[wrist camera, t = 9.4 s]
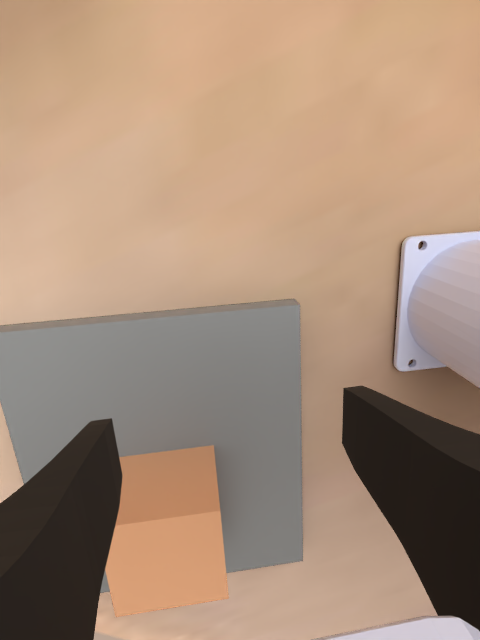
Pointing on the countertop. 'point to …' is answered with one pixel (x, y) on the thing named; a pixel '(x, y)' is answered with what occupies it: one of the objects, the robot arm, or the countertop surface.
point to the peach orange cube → (167, 533)
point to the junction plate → (175, 405)
